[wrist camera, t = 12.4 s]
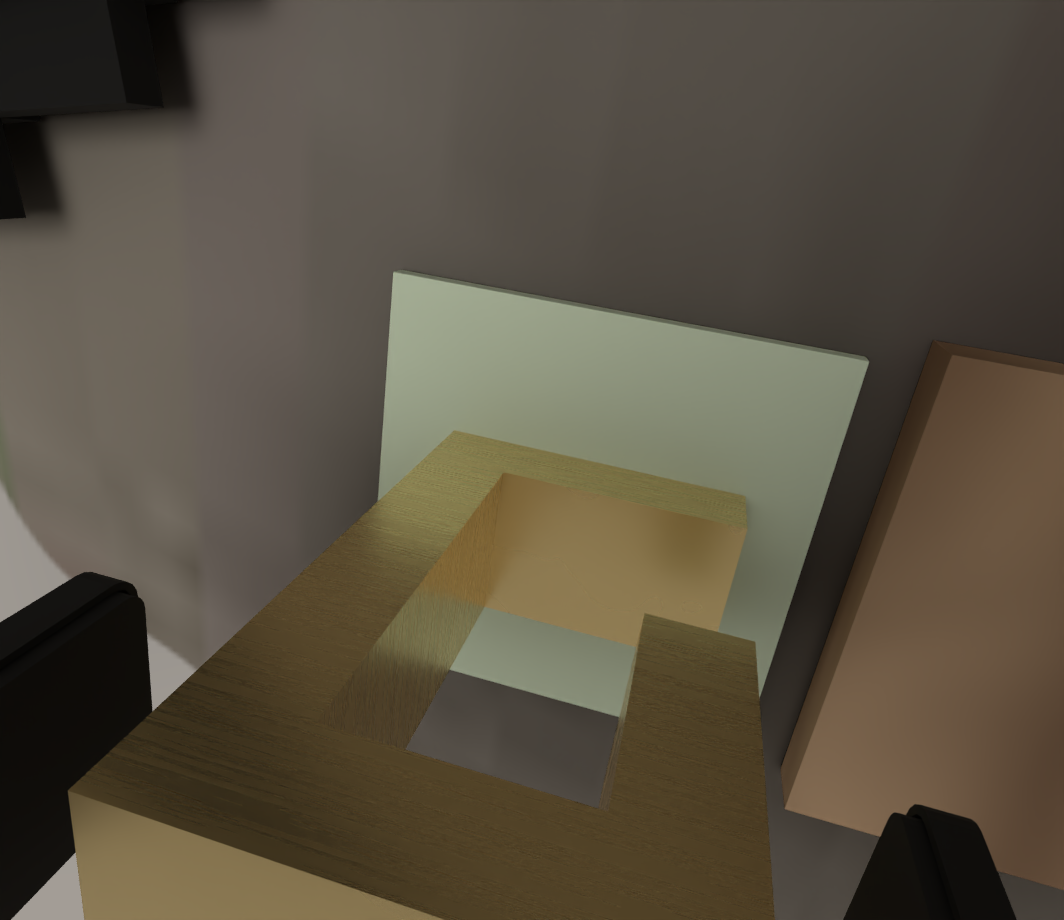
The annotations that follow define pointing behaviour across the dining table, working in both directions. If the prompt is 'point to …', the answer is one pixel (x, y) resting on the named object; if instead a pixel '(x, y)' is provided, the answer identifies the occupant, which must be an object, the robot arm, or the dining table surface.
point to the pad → (619, 442)
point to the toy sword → (71, 66)
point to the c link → (406, 693)
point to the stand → (953, 624)
